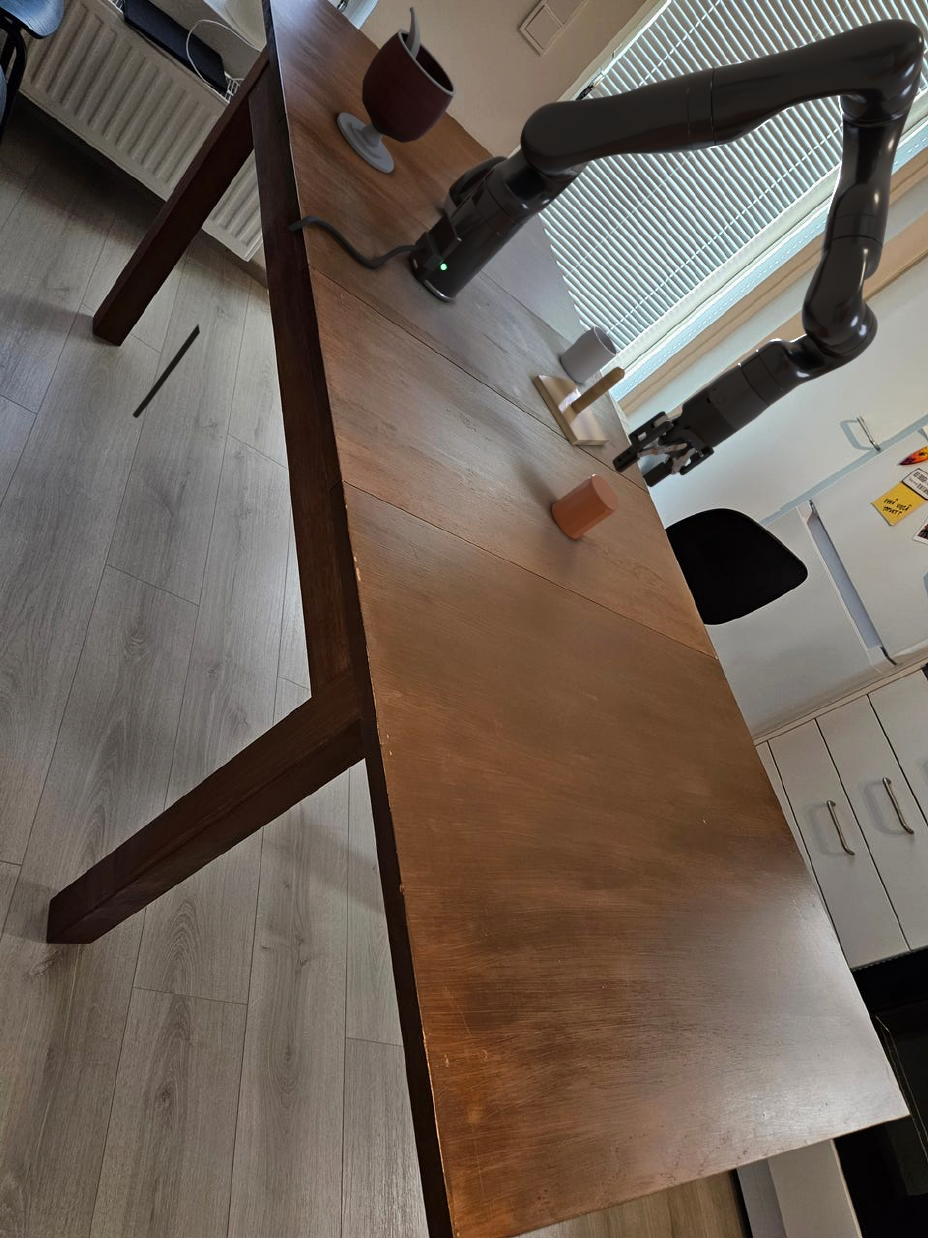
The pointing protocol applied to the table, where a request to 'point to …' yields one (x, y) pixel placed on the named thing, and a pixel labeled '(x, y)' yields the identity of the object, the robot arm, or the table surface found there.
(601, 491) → the terracotta cup
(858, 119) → the robot arm
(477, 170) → the pump dispenser
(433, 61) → the mate gourd
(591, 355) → the cup
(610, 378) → the cup stand
